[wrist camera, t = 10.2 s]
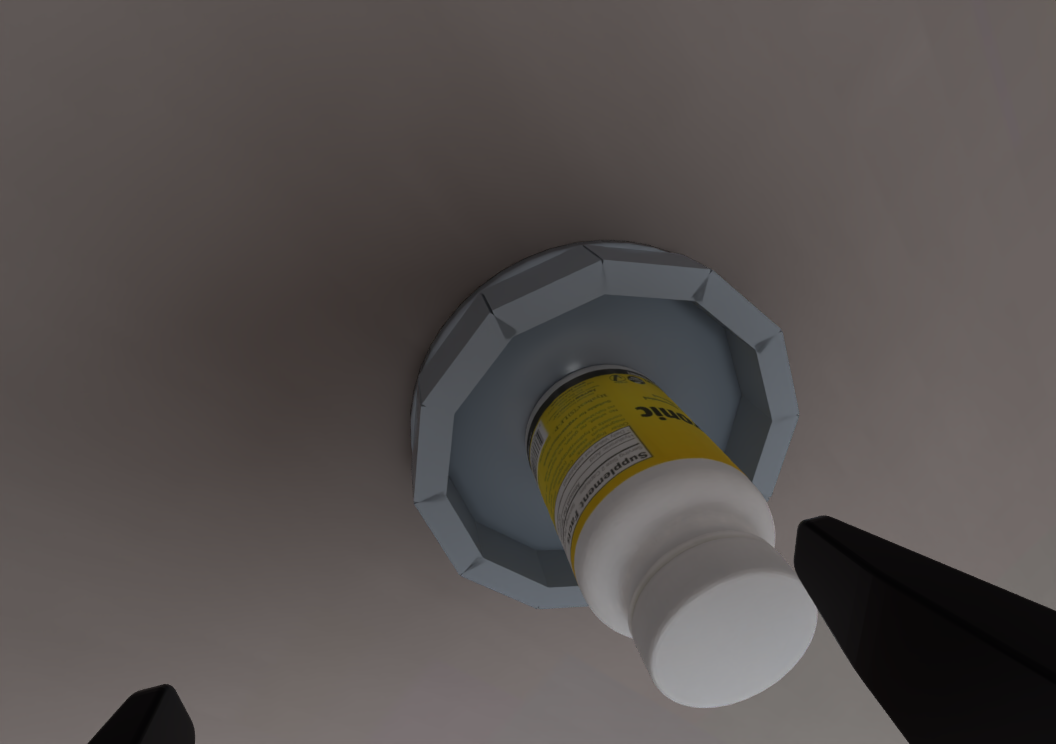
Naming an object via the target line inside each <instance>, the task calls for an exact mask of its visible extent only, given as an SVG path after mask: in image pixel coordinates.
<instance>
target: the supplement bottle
mask: <svg viewBox="0 0 1056 744" xmlns="http://www.w3.org/2000/svg"><path fill="white" fill-rule="evenodd" d="M525 447H526V454H527V458H528V462H529V465H530V468H531V470H532V473H533V476H534V478H535V481H536V483H537V486H538V488H539V490H540V493H541V495H542V497H543V500H544V503H545V505H546V507H547V509H548V512H549V514H550V517H551V520H552V521H553V524H554V526H555V529H556V532H557V534H558V536H559V539H560V541H561V543H562V546H563V548H564V551H565V553H566V555H567V559H568V561H569V563H570V566H571V568H572V571H573V573H574V576H575V578H576V581H577V583H578V586H579V588H580V590H581V592H582V594H583V597H584V598H585V600H586V602H587V604H588V606H589V607H590V609H591V610H592V611H593V613H594V614H595V615H596V616H597V617H598V618H599V619H600V620H601V621H602V622H603V623H604V624H605V625H607V626H608V627H609V628H611V629H612V630H614V631H616V632H618V633H620V634H622V635H624V636H627V637H630V638H633V640H634V642H635V645H636V648H637V649H638V651H639V653H640V655H641V658H642V660H643V662H644V664H645V666H646V668H647V670H648V672H649V674H650V676H651V678H652V680H653V682H654V684H655V685H656V687H657V688H658V689H659V690H660V691H661V692H662V693H663V694H664V695H665V696H666V697H668V698H669V699H671V700H673V701H674V702H676V703H679V704H682V705H685V706H689V707H698V708H712V707H720V706H726V705H730V704H734V703H737V702H740V701H743V700H745V699H748V698H750V697H752V696H754V695H756V694H758V693H760V692H762V691H764V690H765V689H767V688H769V687H770V686H772V685H773V684H775V683H776V682H778V681H779V680H780V679H781V678H783V677H784V676H785V674H786V673H787V672H789V671H790V670H791V669H792V668H793V667H794V666H795V664H796V663H797V662H798V661H799V660H800V658H801V657H802V656H803V654H804V653H805V651H806V650H807V648H808V646H809V645H810V643H811V640H812V638H813V636H814V632H815V629H816V625H817V615H818V612H817V608H816V606H815V604H814V603H813V601H812V599H811V598H810V596H809V595H808V593H807V591H806V590H805V588H804V586H803V585H802V583H801V581H800V580H799V578H798V576H797V574H796V572H795V570H794V569H793V568H792V567H791V566H790V564H789V563H788V562H787V561H786V559H785V558H784V557H783V556H782V554H781V553H779V552H778V551H777V550H776V549H775V548H774V547H775V527H774V522H773V517H772V514H771V511H770V509H769V506H768V504H767V502H766V500H765V499H764V497H763V496H762V494H761V493H760V491H759V490H758V489H757V488H756V487H755V486H754V484H753V483H752V482H751V481H750V480H749V479H748V477H747V476H746V475H745V474H744V473H743V472H742V471H741V470H740V469H739V468H738V467H737V466H736V465H735V464H734V463H733V462H732V461H731V460H730V458H729V457H728V456H727V455H726V454H725V453H724V452H723V451H722V450H721V449H720V448H719V447H718V446H717V445H716V444H715V443H714V442H713V441H712V440H711V439H710V438H709V437H708V436H707V435H706V434H705V433H704V432H703V431H702V430H701V429H700V428H699V427H698V426H697V425H696V424H695V423H694V422H693V421H692V420H691V419H690V418H689V417H688V416H687V415H686V414H685V413H684V412H683V411H682V410H681V409H680V408H679V407H678V406H677V405H676V404H675V403H674V402H673V401H672V400H671V399H670V398H669V397H668V396H667V395H666V394H665V393H664V392H663V390H662V389H660V388H659V387H658V386H657V385H656V384H655V383H654V382H653V381H652V380H650V379H649V378H648V377H646V376H645V375H644V374H642V373H640V372H638V371H636V370H633V369H631V368H627V367H624V366H619V365H596V366H590V367H587V368H583V369H580V370H578V371H576V372H573V373H571V374H569V375H567V376H566V377H564V378H562V379H561V380H560V381H558V382H557V383H555V384H554V385H553V386H552V387H551V388H550V389H549V390H548V391H547V392H546V393H545V394H544V395H543V396H542V397H541V399H540V400H539V401H538V403H537V404H536V406H535V408H534V409H533V411H532V414H531V416H530V418H529V421H528V424H527V428H526V436H525Z"/></svg>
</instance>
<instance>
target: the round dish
mask: <svg viewBox="0 0 1056 744" xmlns="http://www.w3.org/2000/svg"><path fill="white" fill-rule="evenodd" d="M596 365H619V366H624V367H627V368H631V369H633V370H636V371H638V372H640V373H642V374H644V375H645V376H646V377H648V378H649V379H650V380H652V381H653V382H654V383H655V384H656V385H657V386H658V387H659V388H660V389H662V390H663V392H664V393H665V394H666V395H667V396H668V397H669V398H670V399H671V400H672V401H673V402H674V403H675V404H676V405H677V406H678V407H679V408H680V409H681V410H682V411H683V412H684V413H685V414H686V415H687V416H688V417H689V418H690V419H691V420H692V421H693V422H694V423H695V424H696V425H697V426H698V427H699V428H700V429H701V430H702V431H703V432H704V433H705V434H706V435H707V436H708V437H709V438H710V439H711V440H712V441H713V442H714V443H715V444H716V445H717V446H718V447H719V448H720V449H721V450H722V451H723V452H724V453H725V454H726V455H727V456H728V457H729V458H730V460H731V461H732V462H733V463H734V464H735V465H736V466H737V467H738V468H739V469H740V470H741V471H742V472H743V473H744V474H745V475H746V476H747V477H748V479H749V480H750V481H751V482H752V483H753V484H754V486H755V487H756V488H757V489H758V490H759V491H760V493H761V494H762V496H763V497H764V499H765V500H766V502H767V501H768V500H769V498H768V497H771V495H772V493H773V490H774V487H775V484H776V481H777V478H778V475H779V472H780V470H781V467H782V464H783V461H784V458H785V455H786V452H787V449H788V447H789V444H790V441H791V438H792V435H793V432H794V429H795V426H796V424H797V421H798V418H799V415H798V414H799V409H798V404H797V400H796V395H795V390H794V385H793V380H792V375H791V371H790V366H789V361H788V356H787V351H786V346H785V342H784V337H783V332H782V331H781V329H780V328H779V327H778V326H777V325H776V324H774V323H773V322H772V321H771V320H770V319H769V318H767V317H766V316H765V315H764V314H763V313H762V312H761V311H759V310H758V309H757V308H756V307H755V306H754V305H752V304H751V303H750V302H749V301H748V300H747V299H746V298H744V297H743V296H742V295H741V294H740V293H739V292H737V291H736V290H735V289H734V288H733V287H732V286H731V285H729V284H728V283H727V282H726V281H725V280H724V279H722V278H721V277H720V276H719V275H718V274H717V273H715V272H714V271H713V270H711V269H710V268H708V267H706V266H704V265H702V264H700V263H698V262H696V261H694V260H692V259H691V258H689V257H687V256H685V255H683V254H678V253H671V252H669V251H666V250H663V249H660V248H657V247H654V246H650V245H646V244H641V243H635V242H629V241H615V240H596V241H587V242H578V243H572V244H568V245H564V246H560V247H556V248H552V249H548V250H546V251H543V252H541V253H538V254H535V255H533V256H530V257H528V258H525V259H523V260H521V261H519V262H518V263H516V264H514V265H512V266H510V267H508V268H507V269H505V270H503V271H501V272H500V273H498V274H497V275H496V276H494V277H493V278H491V279H490V280H489V281H487V282H486V283H484V284H483V285H482V286H480V287H479V288H478V289H477V290H476V291H475V292H474V293H473V294H471V295H470V296H469V297H468V298H467V299H466V300H465V301H464V302H463V303H462V304H461V305H460V306H459V307H458V308H457V309H456V311H455V312H454V313H453V314H452V316H451V317H450V318H449V319H448V320H447V322H446V323H445V324H444V325H443V327H442V328H441V330H440V332H439V333H438V335H437V336H436V338H435V340H434V341H433V343H432V344H431V346H430V348H429V350H428V352H427V355H426V357H425V359H424V361H423V363H422V366H421V368H420V371H419V374H418V378H417V381H416V385H415V388H414V392H413V399H412V406H411V413H410V422H411V447H412V465H411V470H412V484H413V498H414V505H415V506H416V508H417V509H418V511H419V512H420V514H421V516H422V517H423V519H424V520H425V522H426V523H427V525H428V527H429V528H430V530H431V531H432V533H433V534H434V536H435V538H436V539H437V541H438V542H439V544H440V545H441V547H442V549H443V550H444V552H445V553H446V555H447V556H448V558H449V559H450V561H451V563H452V564H453V566H454V567H455V569H456V570H457V572H458V574H459V575H460V574H461V576H462V577H464V578H466V579H469V580H471V581H473V582H476V583H478V584H480V585H483V586H485V587H487V588H490V589H492V590H494V591H496V592H499V593H501V594H503V595H506V596H508V597H510V598H513V599H515V600H517V601H520V602H522V603H524V604H527V605H529V606H531V607H534V608H536V609H537V608H538V609H550V608H566V607H582V606H588V604H587V602H586V600H585V598H584V597H583V594H582V592H581V590H580V588H579V586H578V583H577V581H576V578H575V576H574V573H573V571H572V568H571V566H570V563H569V561H568V559H567V555H566V553H565V551H564V548H563V546H562V543H561V541H560V539H559V536H558V534H557V532H556V529H555V526H554V524H553V521H552V520H551V517H550V514H549V512H548V509H547V507H546V505H545V503H544V500H543V497H542V495H541V493H540V490H539V488H538V486H537V483H536V481H535V478H534V476H533V473H532V470H531V468H530V465H529V462H528V458H527V454H526V447H525V436H526V428H527V424H528V421H529V418H530V416H531V414H532V411H533V409H534V408H535V406H536V404H537V403H538V401H539V400H540V399H541V397H542V396H543V395H544V394H545V393H546V392H547V391H548V390H549V389H550V388H551V387H552V386H553V385H554V384H555V383H557V382H558V381H560V380H561V379H562V378H564V377H566V376H567V375H569V374H571V373H573V372H576V371H578V370H580V369H583V368H587V367H590V366H596Z"/></svg>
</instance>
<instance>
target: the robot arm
mask: <svg viewBox="0 0 1056 744" xmlns="http://www.w3.org/2000/svg"><path fill="white" fill-rule="evenodd" d="M794 567H795V571H796V574H797V576H798V578H799V580H800V581H801V583H802V585H803V586H804V588H805V590H806V591H807V593H808V595H809V596H810V598H811V599H812V601H813V603H814V604H815V606H816V608H817V609H818V611H819V613H820V614H821V616H822V618H823V619H824V621H825V623H826V624H827V626H828V627H829V629H830V631H831V632H832V634H833V636H834V637H835V639H836V641H837V642H838V644H839V646H840V647H841V649H842V651H843V652H844V654H845V655H846V657H847V658H848V660H849V662H850V663H851V665H852V666H853V668H854V669H855V671H856V672H857V673H858V675H859V676H860V678H861V679H862V680H863V682H864V683H865V685H866V686H867V687H868V689H869V690H870V691H871V693H872V694H873V695H874V697H875V698H876V699H877V701H878V702H879V703H880V705H881V706H882V707H883V709H884V710H885V712H886V713H887V714H888V716H889V717H890V718H891V720H892V721H893V722H894V724H895V725H896V726H897V728H898V729H899V730H900V732H901V733H902V734H903V736H904V737H905V738H906V740H907V741H908V742H909V744H1056V611H1055V610H1053V609H1050V608H1048V607H1045V606H1043V605H1041V604H1038V603H1036V602H1033V601H1031V600H1029V599H1026V598H1024V597H1021V596H1019V595H1017V594H1014V593H1012V592H1009V591H1007V590H1005V589H1002V588H1000V587H998V586H995V585H993V584H990V583H988V582H986V581H983V580H981V579H978V578H976V577H974V576H971V575H969V574H966V573H964V572H962V571H959V570H957V569H954V568H952V567H950V566H947V565H945V564H943V563H940V562H938V561H935V560H933V559H931V558H928V557H926V556H923V555H921V554H919V553H916V552H914V551H911V550H909V549H907V548H904V547H902V546H899V545H897V544H895V543H892V542H890V541H887V540H885V539H883V538H880V537H878V536H876V535H873V534H871V533H868V532H866V531H864V530H861V529H859V528H856V527H854V526H852V525H849V524H847V523H844V522H842V521H840V520H837V519H835V518H832V517H830V516H818V517H814V518H810V519H807V520H803V521H802V522H800V524H799V525H798V529H797V537H796V545H795V553H794ZM88 744H195V731H194V726H193V723H192V720H191V719H190V717H189V715H188V713H187V711H186V709H185V707H184V705H183V703H182V702H181V700H180V698H179V696H178V694H177V692H176V690H175V689H174V688H173V687H172V686H171V685H169V684H163V685H159V686H155V687H151V688H147V689H144V690H140V691H137V692H135V693H134V694H132V695H131V696H130V697H129V698H128V699H127V700H126V701H125V702H124V703H123V704H122V705H121V707H120V708H119V709H118V710H117V711H116V712H115V713H114V714H113V716H112V717H111V718H110V719H109V720H108V721H107V722H106V723H105V725H104V726H103V727H102V728H101V729H100V730H99V731H98V732H97V733H96V735H95V736H94V737H93V738H92V739H91V740H90V741H89V742H88Z"/></svg>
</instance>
